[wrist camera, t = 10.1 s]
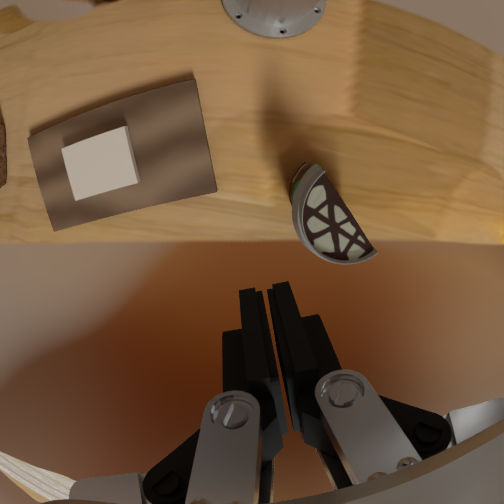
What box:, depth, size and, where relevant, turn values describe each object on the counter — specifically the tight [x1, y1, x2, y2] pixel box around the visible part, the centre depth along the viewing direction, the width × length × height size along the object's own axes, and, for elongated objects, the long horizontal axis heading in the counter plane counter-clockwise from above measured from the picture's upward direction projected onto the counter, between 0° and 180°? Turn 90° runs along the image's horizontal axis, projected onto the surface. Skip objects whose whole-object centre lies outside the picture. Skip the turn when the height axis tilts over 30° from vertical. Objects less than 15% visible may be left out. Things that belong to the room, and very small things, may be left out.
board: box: [28, 79, 217, 232], centre depth 34 cm, size 14×24×1 cm, turn 99°
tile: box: [61, 126, 140, 201], centre depth 33 cm, size 7×2×9 cm
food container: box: [289, 162, 378, 264], centre depth 35 cm, size 12×6×10 cm, turn 39°
